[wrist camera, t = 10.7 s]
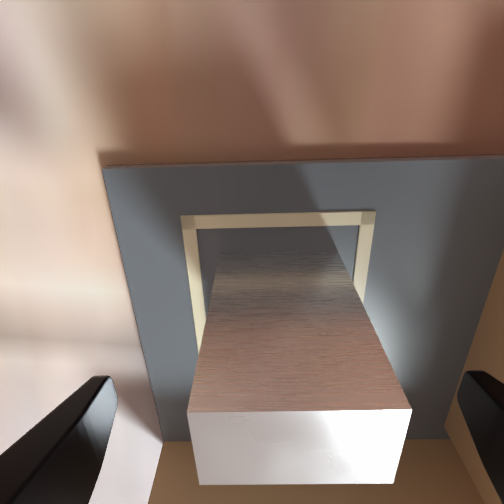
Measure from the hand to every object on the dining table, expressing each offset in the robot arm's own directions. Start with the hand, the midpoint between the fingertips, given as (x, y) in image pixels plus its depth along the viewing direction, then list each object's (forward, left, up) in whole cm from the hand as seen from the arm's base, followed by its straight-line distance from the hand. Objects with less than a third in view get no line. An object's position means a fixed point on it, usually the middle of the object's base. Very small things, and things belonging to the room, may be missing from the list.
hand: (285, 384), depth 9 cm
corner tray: (-2, +4, -6) cm, 7 cm away
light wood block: (0, +3, -5) cm, 6 cm away
